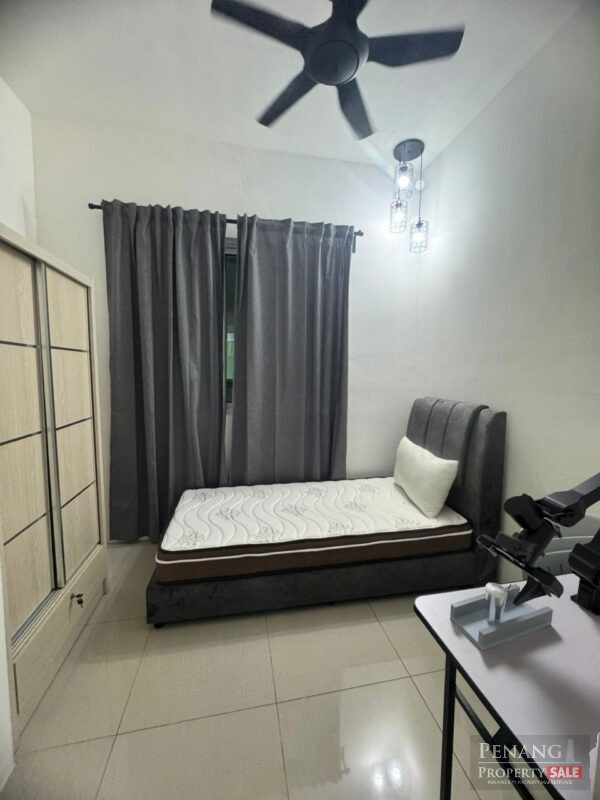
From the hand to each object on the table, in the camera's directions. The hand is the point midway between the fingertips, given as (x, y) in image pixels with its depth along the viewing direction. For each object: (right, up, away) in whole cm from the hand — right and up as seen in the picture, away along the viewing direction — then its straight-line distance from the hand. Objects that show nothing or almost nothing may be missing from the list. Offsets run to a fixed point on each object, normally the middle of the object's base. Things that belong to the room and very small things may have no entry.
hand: (495, 590), depth 77 cm
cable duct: (+2, -9, +2) cm, 9 cm away
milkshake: (+1, -8, +1) cm, 8 cm away
